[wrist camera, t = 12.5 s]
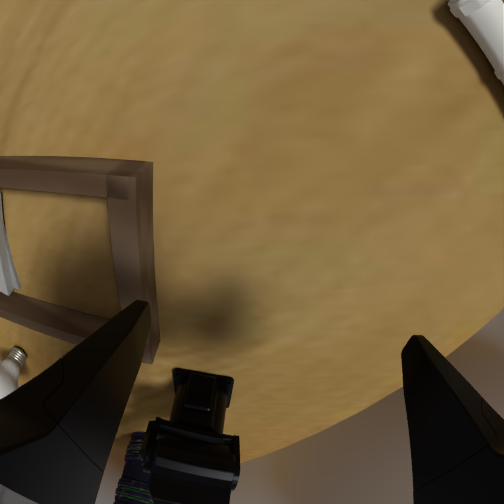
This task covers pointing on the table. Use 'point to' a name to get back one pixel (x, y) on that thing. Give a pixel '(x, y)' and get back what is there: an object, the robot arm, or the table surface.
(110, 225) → the frame
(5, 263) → the offcut top
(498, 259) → the table surface
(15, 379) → the lightbulb
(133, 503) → the dark blue cylinder
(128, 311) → the robot arm
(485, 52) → the knuckle duster
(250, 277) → the table surface
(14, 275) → the offcut bottom
